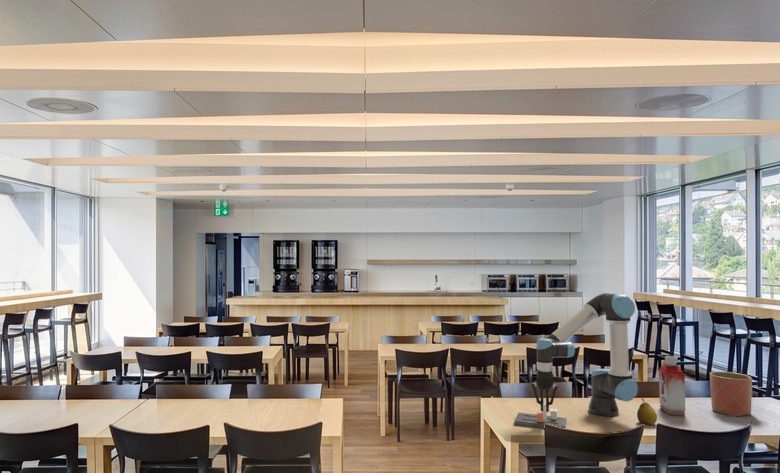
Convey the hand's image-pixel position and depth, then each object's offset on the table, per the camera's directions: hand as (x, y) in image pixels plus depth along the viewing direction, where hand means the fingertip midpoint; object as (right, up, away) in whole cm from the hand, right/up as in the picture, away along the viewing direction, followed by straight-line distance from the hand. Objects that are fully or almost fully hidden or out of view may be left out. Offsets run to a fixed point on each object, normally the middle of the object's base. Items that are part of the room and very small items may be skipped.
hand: (544, 418), depth 250 cm
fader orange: (-2, -2, +1) cm, 3 cm away
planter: (+109, -6, +25) cm, 112 cm away
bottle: (+77, -6, +25) cm, 81 cm away
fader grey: (+6, -2, +5) cm, 8 cm away
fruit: (+53, -5, +5) cm, 54 cm away
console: (-1, -4, +4) cm, 6 cm away
